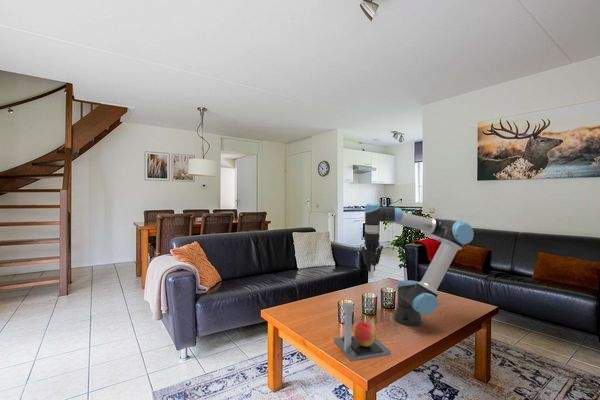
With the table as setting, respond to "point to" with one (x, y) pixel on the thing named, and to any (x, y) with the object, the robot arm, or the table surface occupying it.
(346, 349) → the stand
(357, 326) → the apple
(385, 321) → the table surface
